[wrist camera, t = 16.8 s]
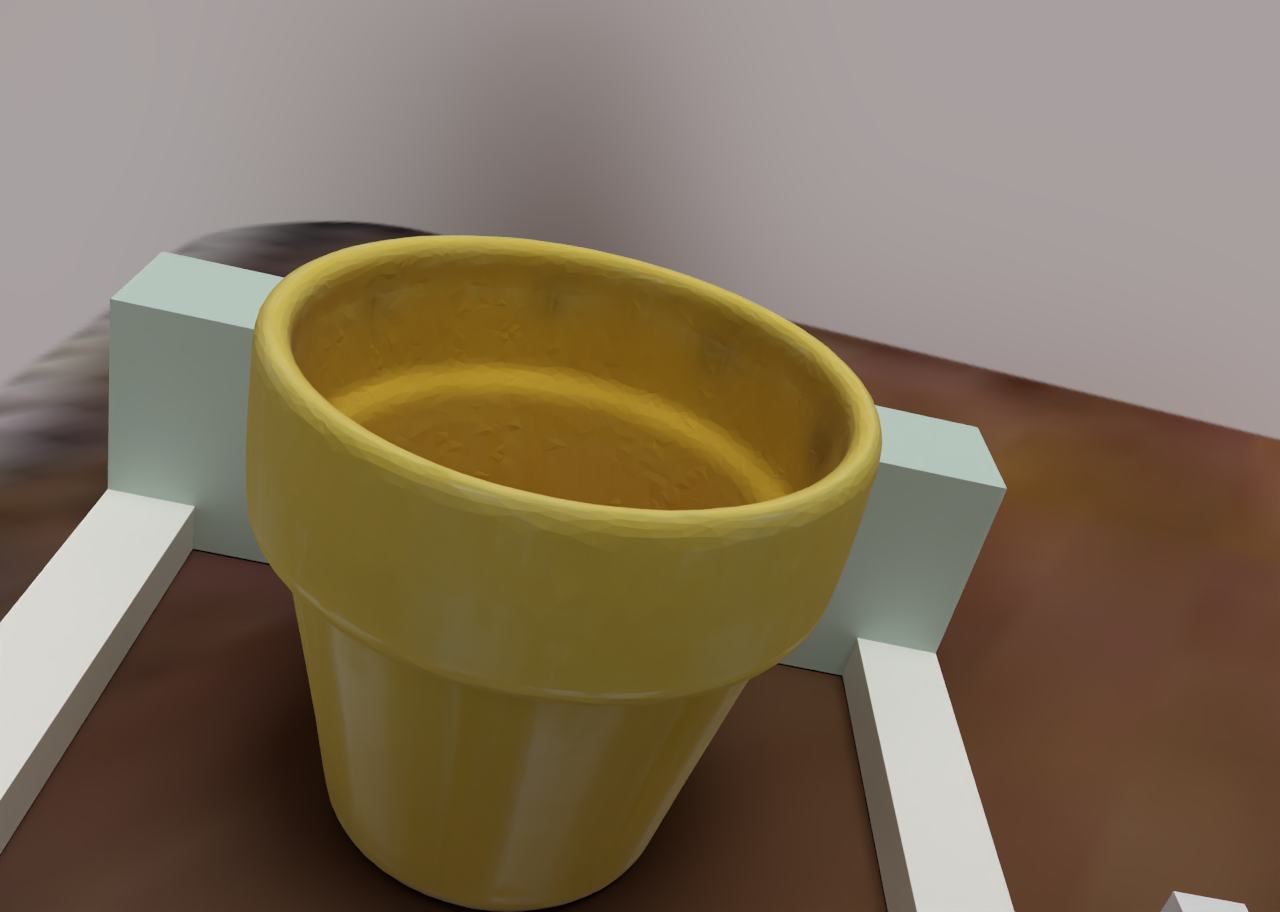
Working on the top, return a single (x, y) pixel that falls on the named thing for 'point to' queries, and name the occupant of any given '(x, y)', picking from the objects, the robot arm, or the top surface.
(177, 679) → the top surface
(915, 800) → the guide track
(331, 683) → the plant pot
